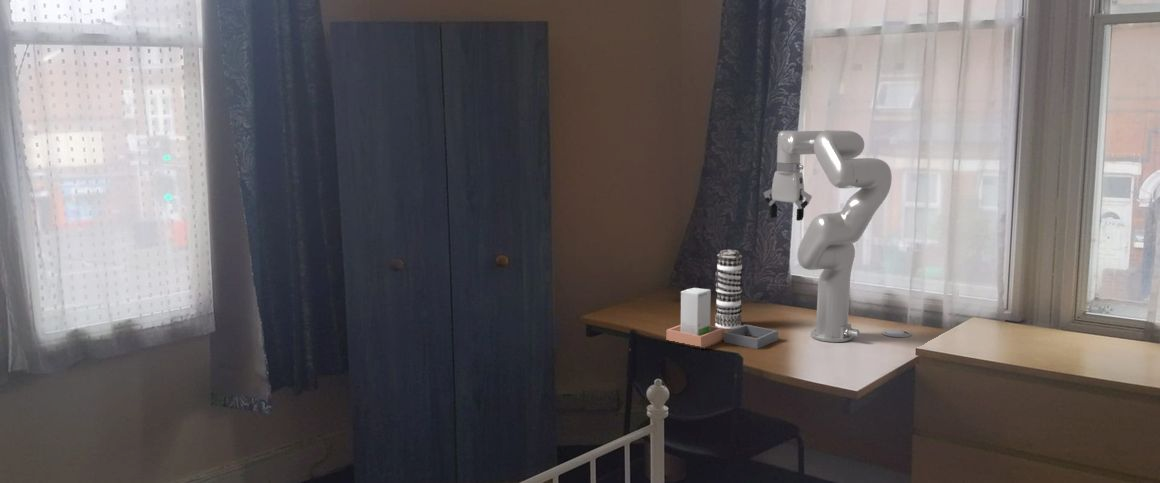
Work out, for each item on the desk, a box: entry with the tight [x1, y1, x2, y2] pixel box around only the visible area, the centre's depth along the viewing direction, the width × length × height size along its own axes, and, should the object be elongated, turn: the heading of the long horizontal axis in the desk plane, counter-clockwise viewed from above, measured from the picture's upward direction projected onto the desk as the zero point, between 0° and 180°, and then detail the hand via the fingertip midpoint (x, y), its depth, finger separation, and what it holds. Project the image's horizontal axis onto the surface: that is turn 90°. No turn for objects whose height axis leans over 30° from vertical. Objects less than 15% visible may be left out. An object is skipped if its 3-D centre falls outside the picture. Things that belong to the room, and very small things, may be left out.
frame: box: [723, 324, 779, 350], centre depth 284 cm, size 12×13×3 cm
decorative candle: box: [714, 249, 745, 330], centre depth 300 cm, size 9×9×25 cm
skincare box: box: [680, 287, 712, 336], centre depth 283 cm, size 8×7×16 cm
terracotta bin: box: [665, 324, 725, 348], centre depth 284 cm, size 13×13×4 cm
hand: (786, 218), depth 310 cm, fingers open, 9 cm apart
